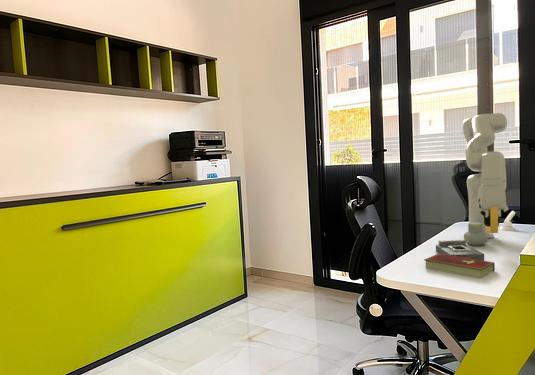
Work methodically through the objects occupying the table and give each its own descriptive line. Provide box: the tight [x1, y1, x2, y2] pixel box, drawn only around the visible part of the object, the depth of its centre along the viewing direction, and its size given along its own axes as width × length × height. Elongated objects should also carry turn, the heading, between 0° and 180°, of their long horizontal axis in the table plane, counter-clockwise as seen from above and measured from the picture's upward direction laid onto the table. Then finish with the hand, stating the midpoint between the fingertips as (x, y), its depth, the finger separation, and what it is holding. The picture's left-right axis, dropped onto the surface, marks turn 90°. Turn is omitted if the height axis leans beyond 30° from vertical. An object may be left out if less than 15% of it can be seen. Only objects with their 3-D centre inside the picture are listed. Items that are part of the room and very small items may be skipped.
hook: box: [499, 210, 517, 232], centre depth 220 cm, size 8×12×7 cm
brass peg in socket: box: [486, 207, 499, 234], centre depth 171 cm, size 4×3×11 cm, turn 175°
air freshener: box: [463, 222, 488, 246], centre depth 190 cm, size 11×8×10 cm
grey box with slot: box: [435, 239, 485, 261], centre depth 172 cm, size 18×13×5 cm
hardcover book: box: [423, 253, 496, 279], centre depth 154 cm, size 12×21×4 cm, turn 41°
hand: (491, 225), depth 172 cm, fingers closed on brass peg in socket, 3 cm apart
